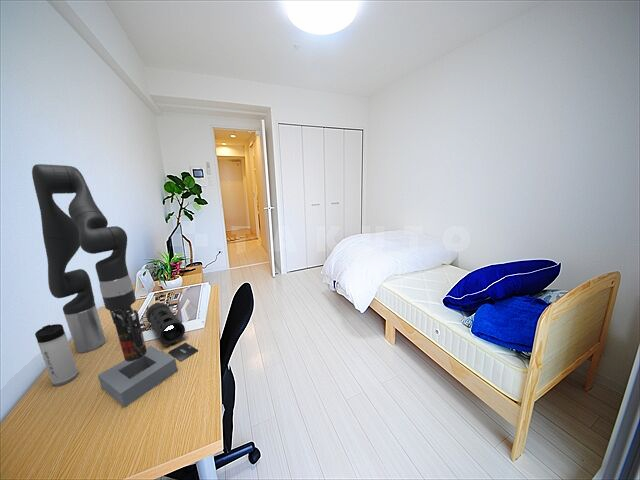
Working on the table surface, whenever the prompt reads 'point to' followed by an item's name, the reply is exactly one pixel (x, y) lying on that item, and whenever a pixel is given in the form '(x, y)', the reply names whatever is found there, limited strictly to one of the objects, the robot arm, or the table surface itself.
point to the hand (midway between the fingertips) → (130, 338)
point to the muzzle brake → (165, 323)
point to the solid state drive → (183, 352)
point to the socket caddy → (137, 376)
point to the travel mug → (57, 354)
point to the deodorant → (130, 349)
